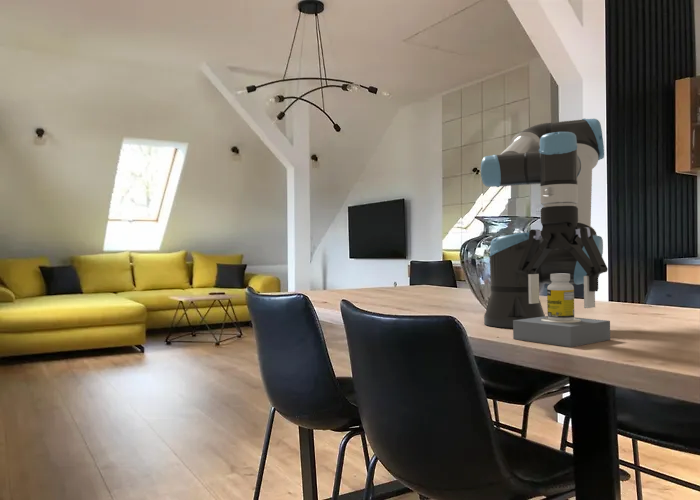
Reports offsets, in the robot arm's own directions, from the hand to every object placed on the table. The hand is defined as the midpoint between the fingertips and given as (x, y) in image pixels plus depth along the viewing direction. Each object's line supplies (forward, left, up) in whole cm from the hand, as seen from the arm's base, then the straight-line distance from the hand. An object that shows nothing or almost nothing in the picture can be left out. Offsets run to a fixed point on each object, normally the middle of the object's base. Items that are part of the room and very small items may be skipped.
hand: (560, 305), depth 126 cm
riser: (0, 0, -7) cm, 7 cm away
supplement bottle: (0, 0, -3) cm, 3 cm away
